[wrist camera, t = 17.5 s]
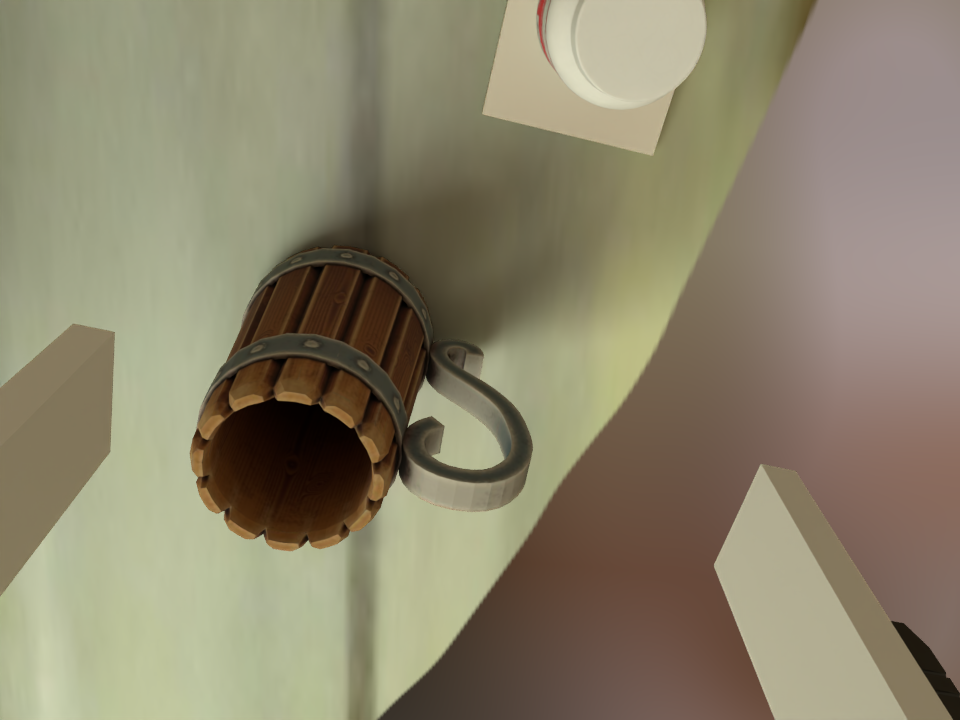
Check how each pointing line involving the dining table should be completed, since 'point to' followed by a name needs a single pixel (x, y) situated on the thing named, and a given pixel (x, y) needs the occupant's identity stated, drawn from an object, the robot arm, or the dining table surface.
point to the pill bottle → (622, 47)
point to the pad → (558, 92)
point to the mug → (342, 406)
